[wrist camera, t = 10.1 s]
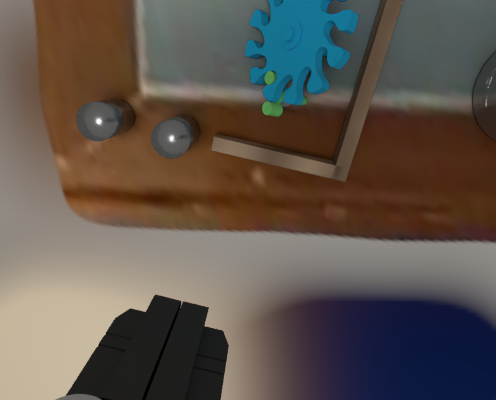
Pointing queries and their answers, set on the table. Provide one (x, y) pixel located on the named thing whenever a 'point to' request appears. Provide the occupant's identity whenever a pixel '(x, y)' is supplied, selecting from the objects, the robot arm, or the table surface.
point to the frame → (353, 119)
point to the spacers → (122, 119)
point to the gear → (296, 50)
